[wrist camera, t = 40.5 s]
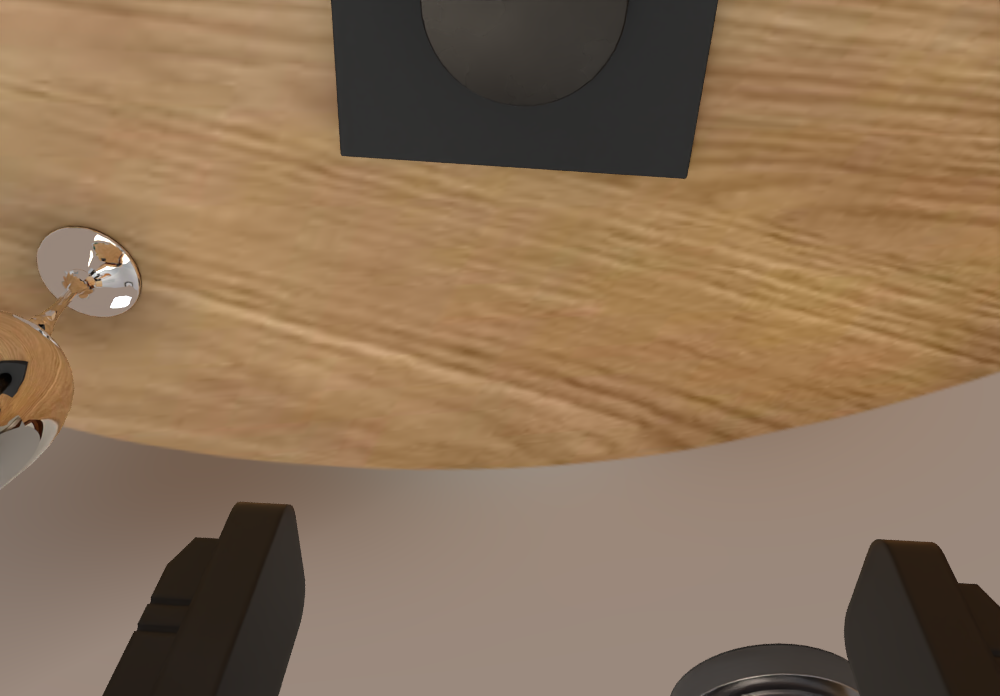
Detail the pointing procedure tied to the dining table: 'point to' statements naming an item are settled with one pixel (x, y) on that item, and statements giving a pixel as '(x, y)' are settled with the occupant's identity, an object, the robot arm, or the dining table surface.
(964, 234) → the dining table surface
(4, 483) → the wineglass
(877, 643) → the robot arm
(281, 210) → the dining table surface
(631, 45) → the mat
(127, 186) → the dining table surface
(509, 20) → the jar lid
